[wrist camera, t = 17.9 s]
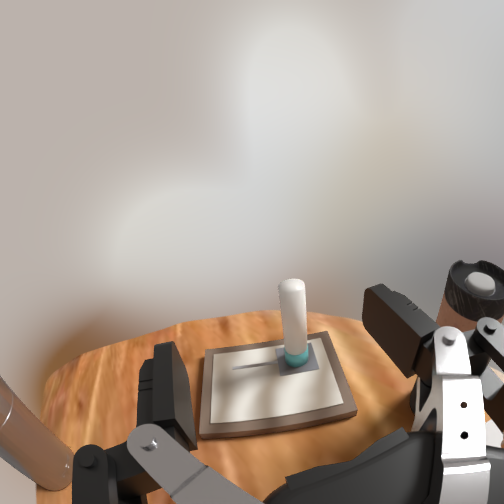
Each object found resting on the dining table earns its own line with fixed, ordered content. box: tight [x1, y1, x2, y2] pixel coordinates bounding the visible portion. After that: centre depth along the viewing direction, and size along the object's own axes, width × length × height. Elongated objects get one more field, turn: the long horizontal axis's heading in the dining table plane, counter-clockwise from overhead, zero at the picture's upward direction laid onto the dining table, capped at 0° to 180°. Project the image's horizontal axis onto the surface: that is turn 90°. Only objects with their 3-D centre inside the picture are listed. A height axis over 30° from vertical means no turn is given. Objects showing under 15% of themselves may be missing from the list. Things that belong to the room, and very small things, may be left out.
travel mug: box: [410, 260, 504, 414], centre depth 24 cm, size 8×8×20 cm
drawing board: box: [199, 331, 358, 439], centre depth 37 cm, size 20×16×2 cm
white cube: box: [485, 419, 503, 448], centre depth 16 cm, size 6×6×6 cm
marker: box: [278, 279, 308, 367], centre depth 37 cm, size 3×3×13 cm
